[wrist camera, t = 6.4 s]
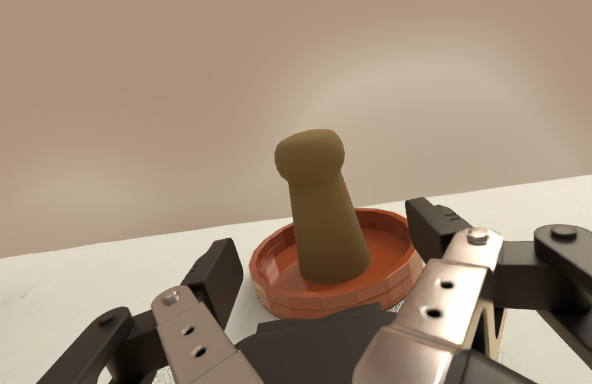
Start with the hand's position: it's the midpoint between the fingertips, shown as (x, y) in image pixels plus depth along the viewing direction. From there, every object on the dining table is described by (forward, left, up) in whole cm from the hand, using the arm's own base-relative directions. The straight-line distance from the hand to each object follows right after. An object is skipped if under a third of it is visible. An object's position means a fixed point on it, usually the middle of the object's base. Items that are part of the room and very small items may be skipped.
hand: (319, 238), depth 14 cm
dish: (0, +10, -8) cm, 12 cm away
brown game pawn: (0, +10, -7) cm, 12 cm away
